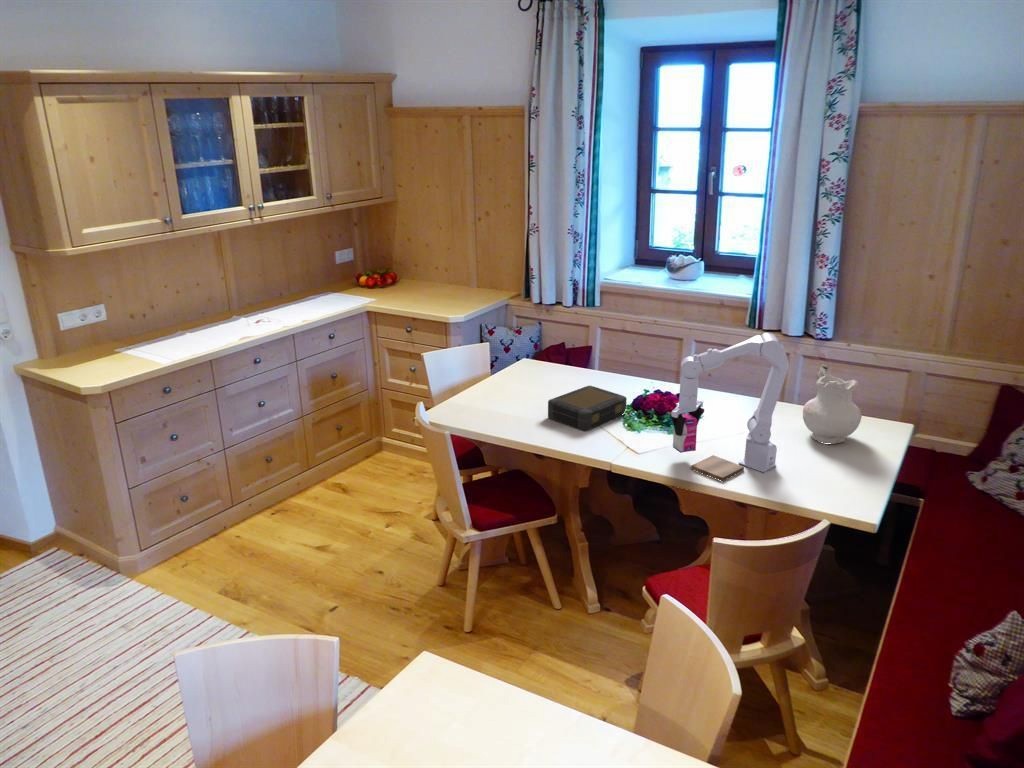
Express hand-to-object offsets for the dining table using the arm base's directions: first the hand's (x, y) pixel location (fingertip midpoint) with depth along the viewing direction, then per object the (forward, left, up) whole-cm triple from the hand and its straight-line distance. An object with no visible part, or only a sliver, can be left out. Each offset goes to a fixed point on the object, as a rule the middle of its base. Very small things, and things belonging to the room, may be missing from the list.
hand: (685, 431), depth 262 cm
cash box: (+49, -6, -11) cm, 51 cm away
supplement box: (0, 0, -7) cm, 6 cm away
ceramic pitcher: (-23, -54, -11) cm, 59 cm away
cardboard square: (-12, -2, -11) cm, 16 cm away
